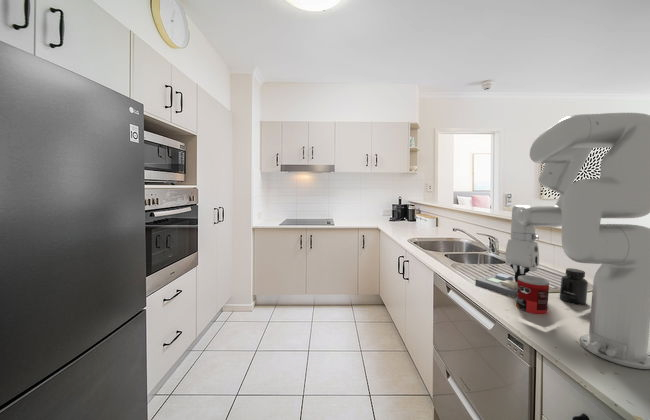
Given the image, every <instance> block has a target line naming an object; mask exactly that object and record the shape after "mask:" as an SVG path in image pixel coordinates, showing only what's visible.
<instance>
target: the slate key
mask: <svg viewBox="0 0 650 420" xmlns="http://www.w3.org/2000/svg"><path fill="white" fill-rule="evenodd" d="M500 273H501V272H500ZM500 273H497V275H496V274H495V275H496V276H495V278H497V279H501V280H504V281H506V280H512V279H513V277H514V276H513V275H508V274H507V273H506V274H504V273H501V274H500Z"/></svg>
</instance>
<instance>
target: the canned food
mask: <svg viewBox="0 0 650 420" xmlns="http://www.w3.org/2000/svg"><path fill="white" fill-rule="evenodd" d="M549 290H550V282H549V280H548V279H545V278H542V277H538V276H535V275H521V276H518V281H517V297H516V300H515V306H516V307H517V308H516V309H519V310H521V311H523V312H525V313H529V314H531V315H532V314H534V315H541V316H542V315H546V314H548V306H549V305H548V302H549Z"/></svg>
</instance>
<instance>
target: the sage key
mask: <svg viewBox="0 0 650 420" xmlns="http://www.w3.org/2000/svg"><path fill="white" fill-rule="evenodd" d="M486 280H488V281H491V282H494V283H497V284H498V283H502V280H499V279H495V278H490V279H486Z"/></svg>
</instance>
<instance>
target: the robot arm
mask: <svg viewBox="0 0 650 420" xmlns="http://www.w3.org/2000/svg"><path fill="white" fill-rule="evenodd" d="M598 148H602V149H603V148H610V149H608V151H606V153H605V154H604V156H603V157H602V160H601V161H600V176H599V178H585V179H584V178H583V179H580V180H579V179H578V180H576V179H577V176H578V174H579V173H580V171H581V169H582V167H583V166H584V164H585V162H586V160H588V157H589V155H590V153H591V152H592V150H593V149H598ZM529 157H530V160H531V161H532V162H534V163H535V164H537V163H538V164H544V167H543V168H542V170H541V173H540V174H539V177H538V183H539V184H540V186H542V187H543V188H544V187H545V188H546V189H548V190H550V191H553V192H556V193H558V194H559V197H558V199H557V202H556V203H555V205H531V204H530V205H529V204H515V205H514V206H513V207H512V208H511V224H510V238H508V240H507V243H506V247H505V259H504V261H505V263H504V264H505V265H507V266H509V267H510V268H511V269H512V270H513V272H514V277H515V282H517V281H518V276H521V275H526V274H528V273H529V272H537V271H538V267H539V265H540V249H539V244H538V241H535V240H539V239H540V237H539V235H536V228H540V227H541V228H557V227H558V228H559V227H561V245H562V246H561V247H562V249H563V253H564V254H565V256H566V257H568V258H569V260H571V261H573V262H576V263H581V264H589V265H590V264H594V265H595V264H596V265H598V264H599V265H600V266H599V267H598V269H597V270H596V272H595V273H594V276H593V281H592V293H591V294H592V295H591V304H590V317H589V329H588V333H586V334H582V335H581V336H580V337H579V343H580V345H581V346H582V347H583V348H584V349H586V350H587V351H588V352H590V353H592V354H593V355H595V356H597V357H599V358H601V359H604V360H607V361H609V362H611V363H614V364H617V365H619V366H620V365H621V366H624V367H627V368H628V367H629V368H633V369H640V370H650V352H649V351H648V349H649V348H648V347H649V337H650V227H647V226H642V225H638V224H627V223H623V224H622V223H606V224H605V223H603V224H602V223H601V221H602V220H601V219H638V218H642V217H645V216H647V215H649V214H650V114H647V113H641V112H607V113H590V114H589V113H588V114H586V113H585V114H575V115H569V116H566V117H564V118H562V119H560V120H559V121H557V122H556V123H555V124H553V125H552V126H551V127H549V128H547V129H546V130H545V131H543V132H541V134H540V135H539V136H538V137H537V138H536V139H535V140H534V141H533V142H532V144H531V147H530V149H529ZM575 180H576V181H575Z"/></svg>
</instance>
